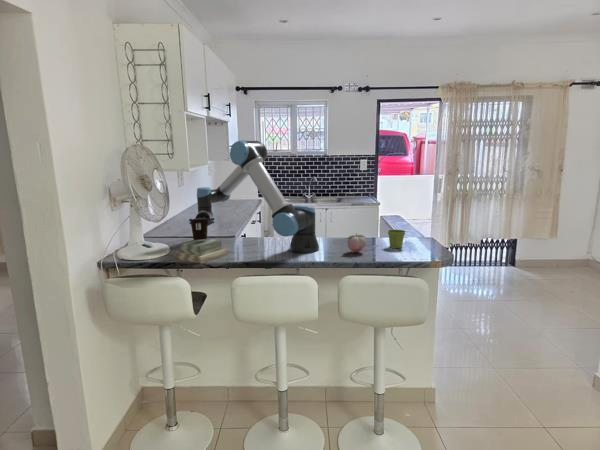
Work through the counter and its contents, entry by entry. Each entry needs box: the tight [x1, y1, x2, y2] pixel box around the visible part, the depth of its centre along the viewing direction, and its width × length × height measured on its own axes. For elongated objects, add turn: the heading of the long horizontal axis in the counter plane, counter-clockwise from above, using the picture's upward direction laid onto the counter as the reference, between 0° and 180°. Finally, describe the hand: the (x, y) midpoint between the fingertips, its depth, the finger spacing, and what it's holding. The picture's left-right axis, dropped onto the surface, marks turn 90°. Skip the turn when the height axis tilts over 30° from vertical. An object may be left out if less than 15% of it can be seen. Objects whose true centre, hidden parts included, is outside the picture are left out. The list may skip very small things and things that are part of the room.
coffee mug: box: [189, 218, 209, 240], centre depth 191 cm, size 12×9×10 cm
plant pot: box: [387, 228, 407, 249], centre depth 204 cm, size 9×9×9 cm
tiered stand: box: [174, 238, 229, 265], centre depth 193 cm, size 18×18×8 cm
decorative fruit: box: [346, 233, 367, 254], centre depth 195 cm, size 9×8×10 cm
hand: (198, 227), depth 186 cm, fingers closed on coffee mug
